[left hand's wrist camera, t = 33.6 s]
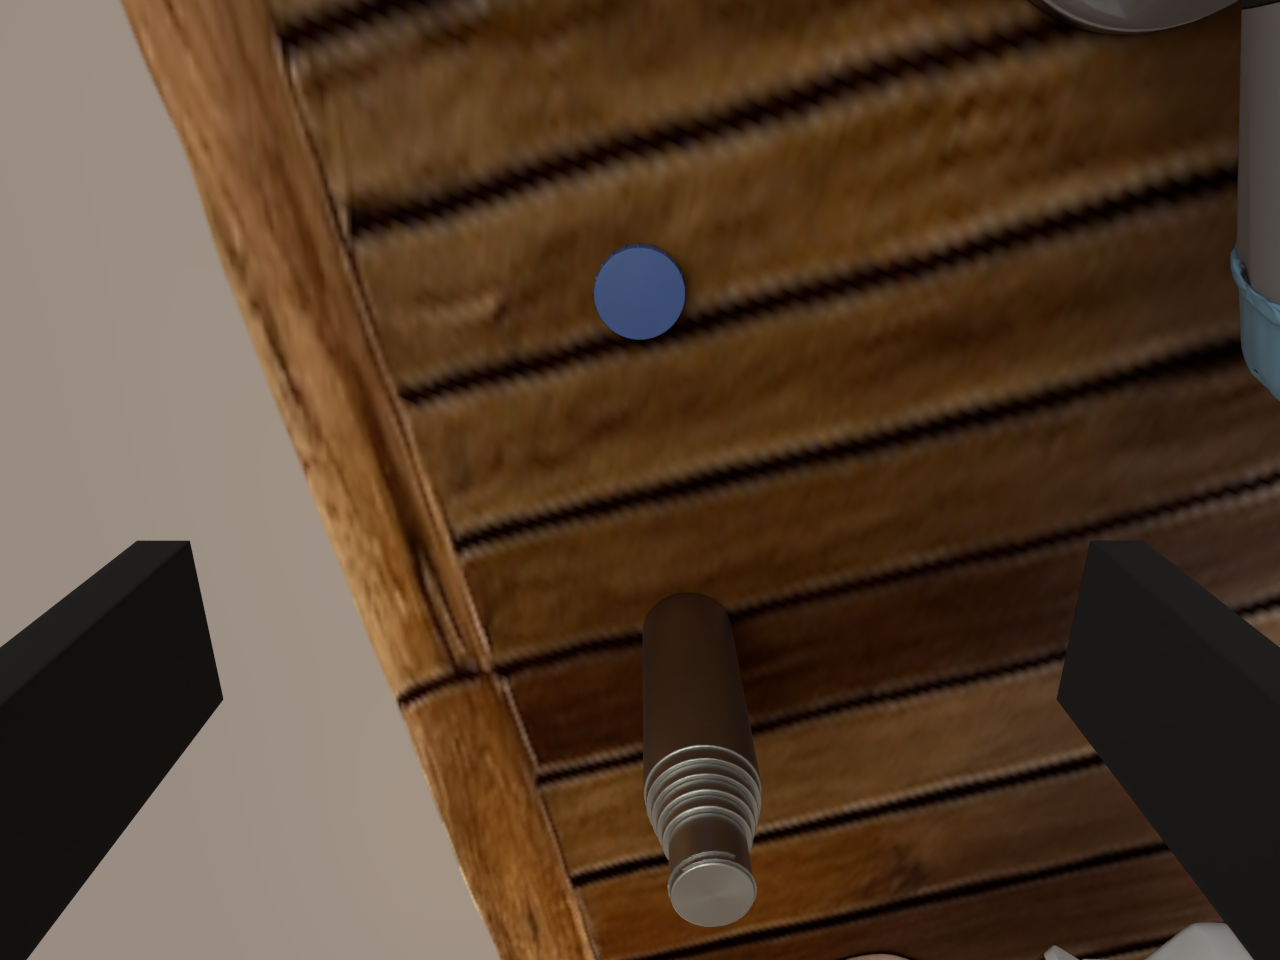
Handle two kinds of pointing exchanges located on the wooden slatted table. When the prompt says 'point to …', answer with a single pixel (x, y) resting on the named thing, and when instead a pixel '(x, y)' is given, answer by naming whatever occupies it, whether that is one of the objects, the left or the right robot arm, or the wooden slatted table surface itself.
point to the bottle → (699, 759)
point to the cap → (639, 291)
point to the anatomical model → (878, 957)
